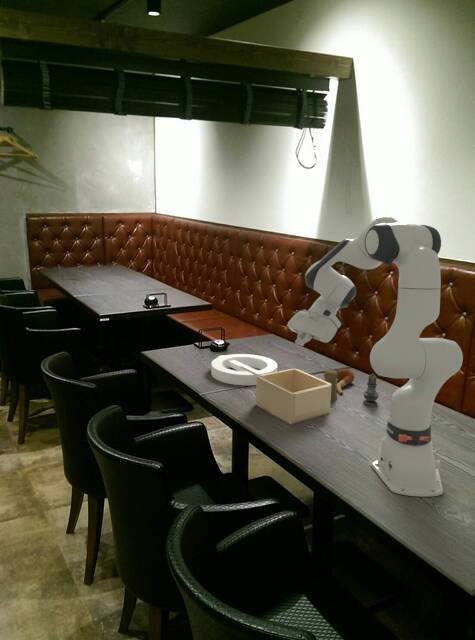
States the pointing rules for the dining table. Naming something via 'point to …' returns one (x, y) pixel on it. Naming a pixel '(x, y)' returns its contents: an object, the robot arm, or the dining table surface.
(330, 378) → the cork
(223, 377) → the ring with crossbar
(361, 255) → the robot arm
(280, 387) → the carton flap
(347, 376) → the smoking pipe
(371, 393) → the grey chess piece
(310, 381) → the carton
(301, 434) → the dining table surface
